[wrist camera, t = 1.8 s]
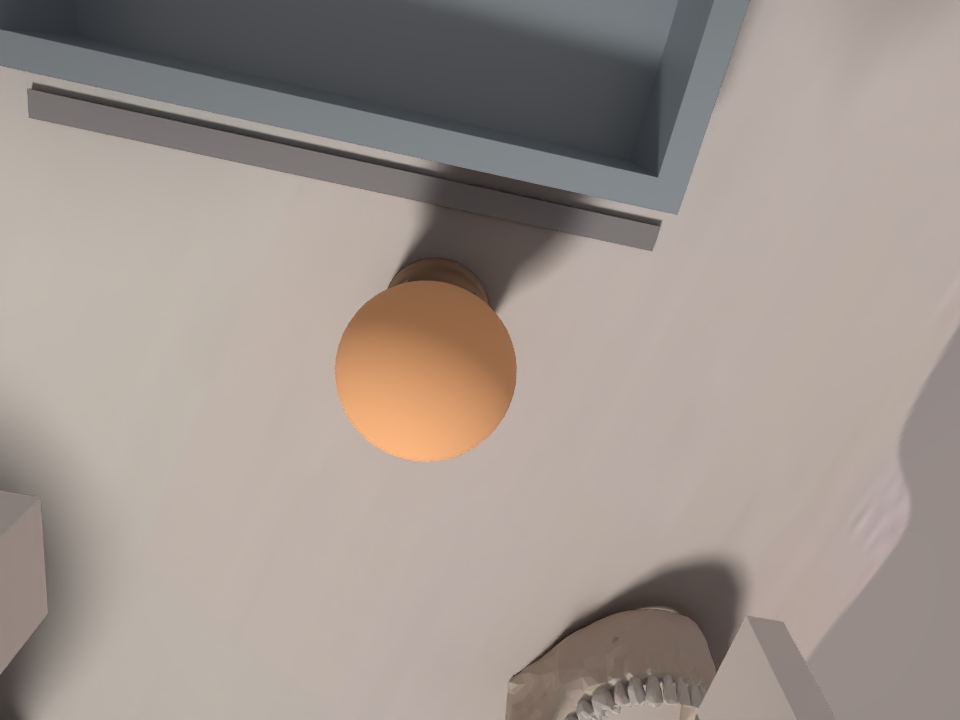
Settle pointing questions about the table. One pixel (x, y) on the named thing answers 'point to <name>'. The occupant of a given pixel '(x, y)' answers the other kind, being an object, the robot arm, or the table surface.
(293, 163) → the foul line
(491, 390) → the ball
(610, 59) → the tray
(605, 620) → the anatomical model
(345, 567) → the table surface
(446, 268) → the tan knobbed round piece
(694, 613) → the table surface
